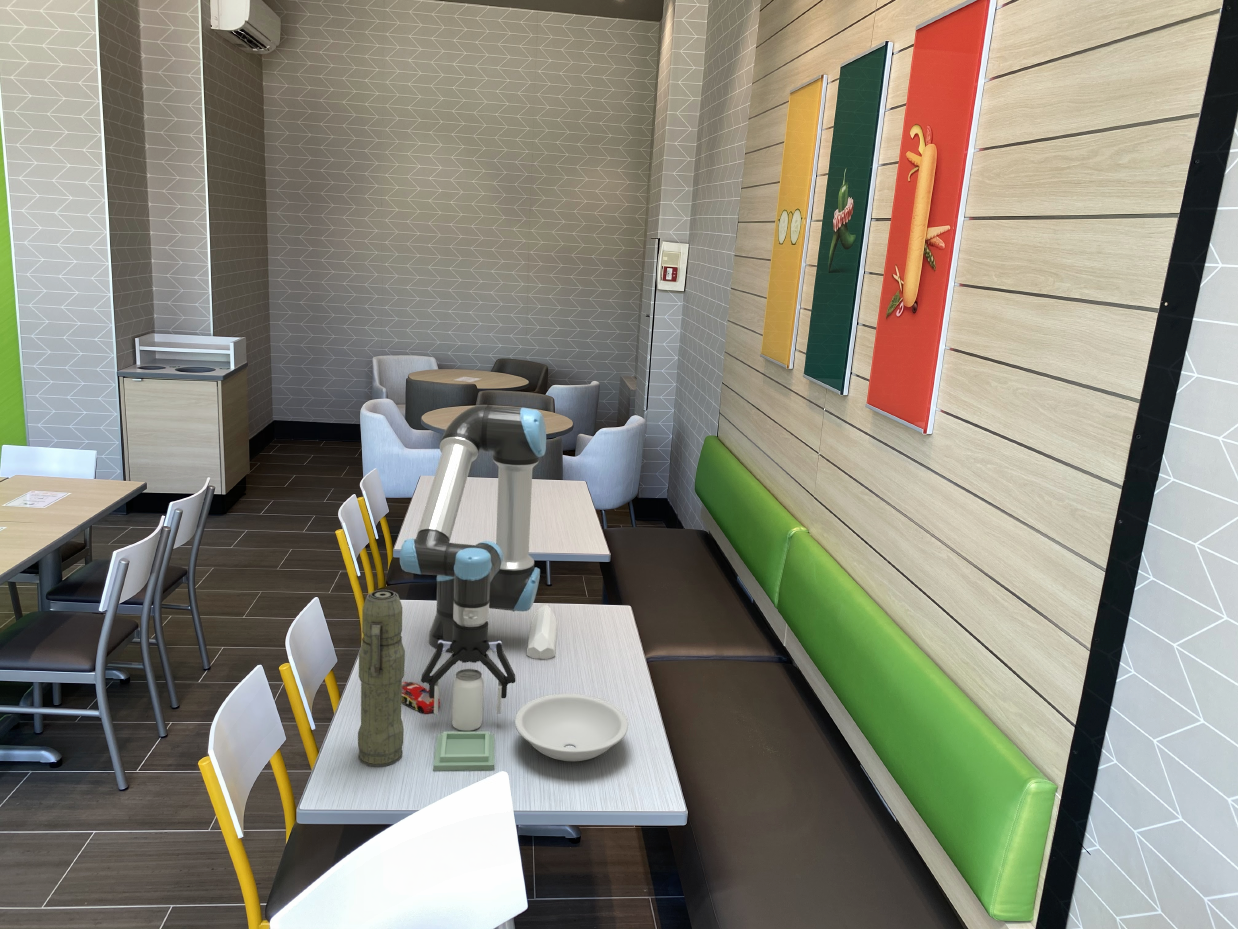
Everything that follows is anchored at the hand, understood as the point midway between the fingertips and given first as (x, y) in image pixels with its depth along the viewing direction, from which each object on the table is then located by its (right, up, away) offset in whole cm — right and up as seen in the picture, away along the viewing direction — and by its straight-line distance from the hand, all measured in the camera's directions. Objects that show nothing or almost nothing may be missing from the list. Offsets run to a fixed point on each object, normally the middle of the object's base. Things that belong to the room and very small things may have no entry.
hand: (467, 711), depth 192 cm
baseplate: (+1, -6, -11) cm, 12 cm away
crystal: (+12, +6, +46) cm, 48 cm away
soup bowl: (+23, -7, -6) cm, 24 cm away
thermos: (-15, -5, -13) cm, 21 cm away
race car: (-13, -1, +9) cm, 16 cm away
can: (0, -3, +1) cm, 4 cm away
